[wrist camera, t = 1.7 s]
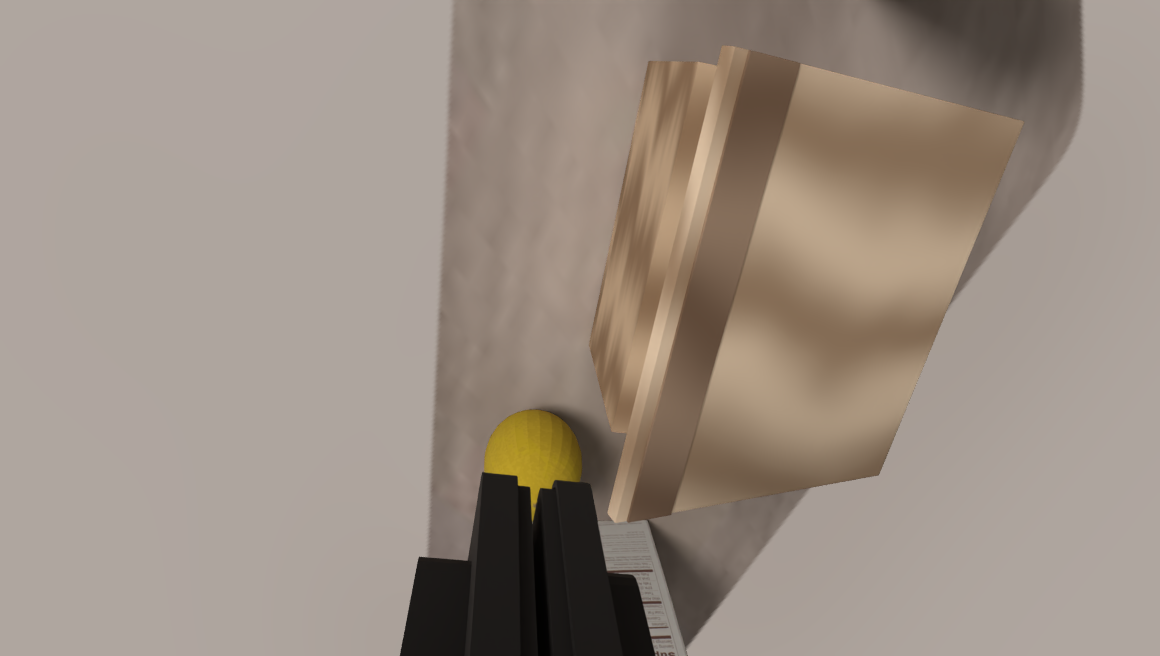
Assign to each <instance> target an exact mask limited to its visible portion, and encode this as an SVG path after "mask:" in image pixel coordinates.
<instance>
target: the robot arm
mask: <svg viewBox="0 0 1160 656" xmlns="http://www.w3.org/2000/svg"><path fill="white" fill-rule="evenodd" d="M400 656H656V655H655V651H654V647H653V643H652V639H651V635H650V631H649V626H648V622H647V618H646V614H645V610H644V606H643V602H642V598H641V594H640V590H639V586H638V583H637V580H636V578H635V577H634V576H633V575H631V574H619V573H607V568H606V563H605V558H604V552H603V547H602V542H601V536H600V531H599V526H598V521H597V515H596V510H595V505H594V499H593V494H592V489H591V485H590V484H589V483H581V482H572V481H562V480H555V481H554V482H553V485H552V489H548V488H540V490H539V493H538V498H537V503H536V508H535V513H534V518H533V524H532V511H531V490H530V487H528V486H518V477H517V476H515V475H505V474H495V473H486V472H482V476H481V481H480V487H479V494H478V500H477V506H476V512H475V519H474V525H473V531H472V538H471V544H470V550H469V557H468V561H463V560H451V559H439V558H427V557H419V559H418V564H417V569H416V574H415V579H414V585H413V589H412V595H411V600H410V605H409V611H408V616H407V621H406V626H405V632H404V638H403V642H402V648H401V653H400Z"/></svg>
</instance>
